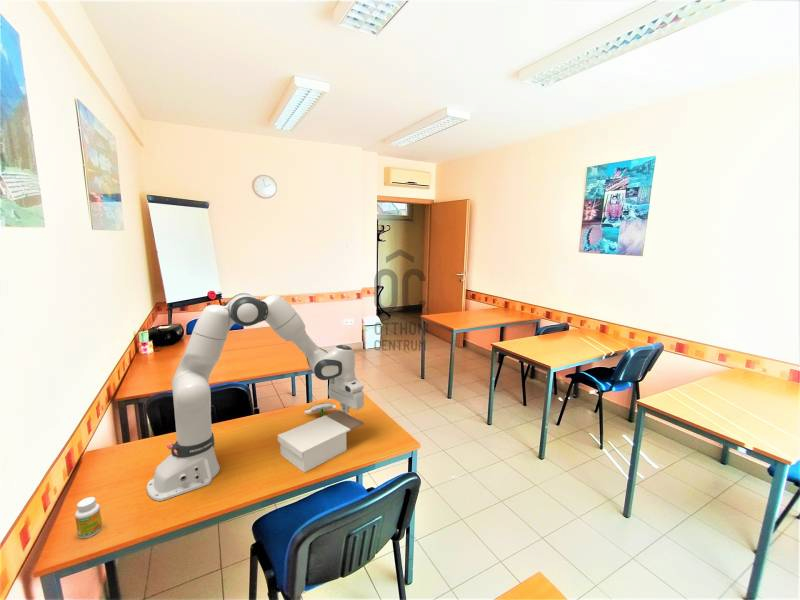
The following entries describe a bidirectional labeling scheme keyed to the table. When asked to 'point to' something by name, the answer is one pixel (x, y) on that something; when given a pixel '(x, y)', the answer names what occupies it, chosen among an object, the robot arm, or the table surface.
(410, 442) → the table surface
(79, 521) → the supplement bottle
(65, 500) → the table surface
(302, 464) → the box
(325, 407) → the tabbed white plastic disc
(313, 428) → the lid
